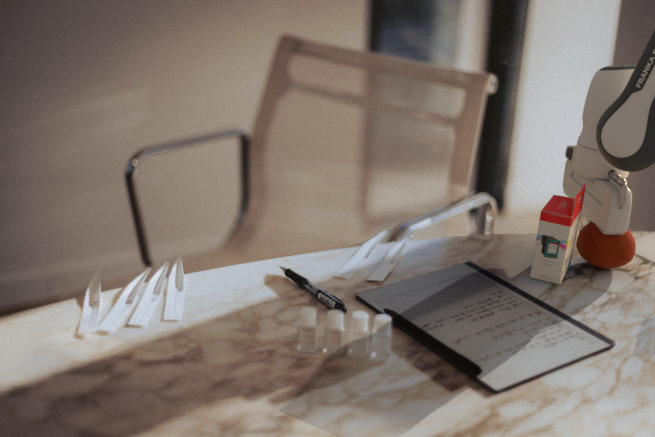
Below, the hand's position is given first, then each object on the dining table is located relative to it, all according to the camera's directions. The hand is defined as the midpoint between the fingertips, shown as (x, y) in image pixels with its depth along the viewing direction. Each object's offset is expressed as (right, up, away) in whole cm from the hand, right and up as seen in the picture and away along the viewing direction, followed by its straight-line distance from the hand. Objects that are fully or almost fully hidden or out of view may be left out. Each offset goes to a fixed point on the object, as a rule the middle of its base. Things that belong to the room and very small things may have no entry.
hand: (586, 236), depth 110 cm
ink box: (-9, -6, -8) cm, 13 cm away
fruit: (0, -5, -5) cm, 7 cm away
